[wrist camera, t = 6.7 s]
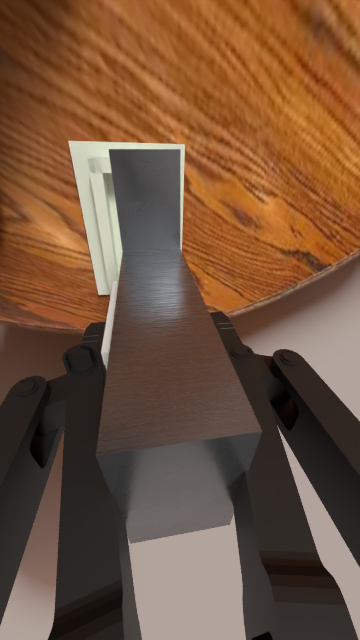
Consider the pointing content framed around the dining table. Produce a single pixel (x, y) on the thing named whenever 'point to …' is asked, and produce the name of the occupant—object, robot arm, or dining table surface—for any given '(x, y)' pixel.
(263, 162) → the dining table surface
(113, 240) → the rectangular frame
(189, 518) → the grey l-shaped block
